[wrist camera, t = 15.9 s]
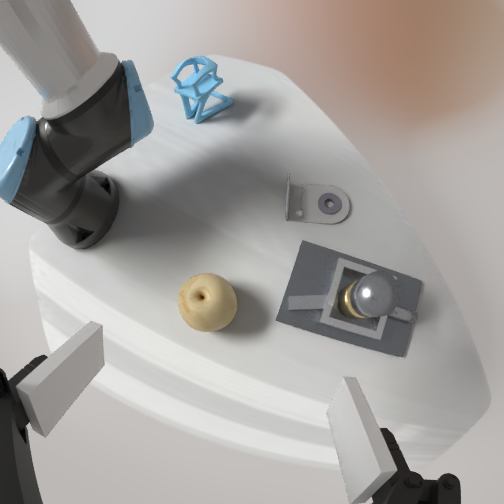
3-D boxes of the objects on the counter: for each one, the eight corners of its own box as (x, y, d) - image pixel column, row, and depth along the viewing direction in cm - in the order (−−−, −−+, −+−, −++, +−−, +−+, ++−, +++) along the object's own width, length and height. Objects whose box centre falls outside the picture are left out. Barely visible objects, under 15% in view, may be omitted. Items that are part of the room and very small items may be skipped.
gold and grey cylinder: (334, 312, 37) (353, 309, 28) (344, 279, 38) (365, 264, 29) (366, 322, 36) (393, 321, 27) (375, 289, 38) (404, 278, 28)
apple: (200, 344, 38) (164, 325, 33) (201, 297, 43) (169, 273, 38) (249, 332, 36) (216, 310, 30) (244, 282, 41) (216, 253, 35)
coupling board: (275, 320, 39) (275, 319, 35) (301, 242, 41) (303, 234, 38) (399, 356, 36) (409, 358, 32) (418, 281, 38) (429, 278, 35)
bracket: (348, 227, 42) (354, 219, 38) (284, 221, 43) (285, 212, 39) (347, 189, 43) (352, 179, 40) (287, 183, 44) (287, 173, 41)
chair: (178, 115, 50) (159, 73, 38) (206, 90, 51) (193, 48, 39) (205, 128, 48) (189, 84, 37) (234, 102, 49) (224, 57, 38)
